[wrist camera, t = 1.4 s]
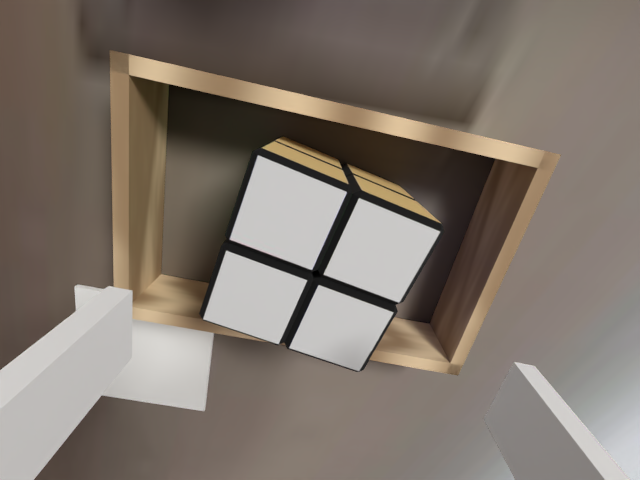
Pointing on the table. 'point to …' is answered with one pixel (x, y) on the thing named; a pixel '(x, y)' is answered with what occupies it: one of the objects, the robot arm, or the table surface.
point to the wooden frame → (152, 114)
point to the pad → (161, 362)
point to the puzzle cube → (317, 255)
